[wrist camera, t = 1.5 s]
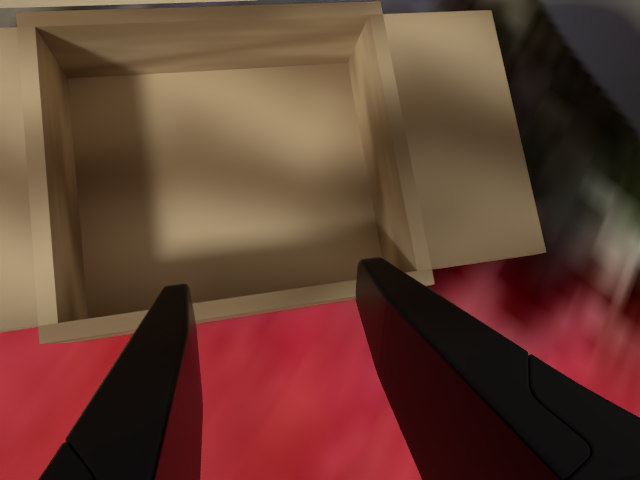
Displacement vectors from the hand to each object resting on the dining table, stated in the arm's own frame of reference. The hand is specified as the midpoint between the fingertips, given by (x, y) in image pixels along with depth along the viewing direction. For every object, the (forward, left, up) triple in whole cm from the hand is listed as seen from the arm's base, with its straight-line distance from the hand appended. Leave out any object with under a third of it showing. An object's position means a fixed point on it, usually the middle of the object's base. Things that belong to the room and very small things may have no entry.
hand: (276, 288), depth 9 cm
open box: (+4, +4, -14) cm, 15 cm away
